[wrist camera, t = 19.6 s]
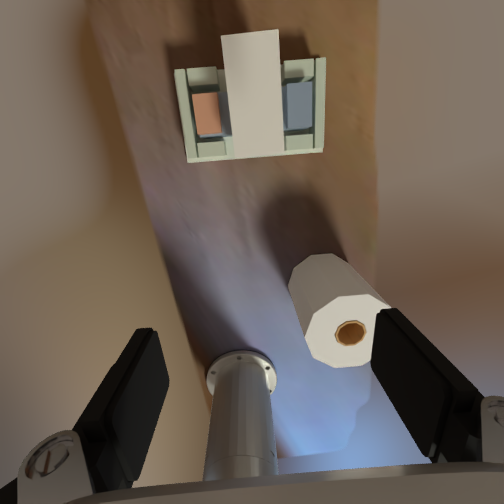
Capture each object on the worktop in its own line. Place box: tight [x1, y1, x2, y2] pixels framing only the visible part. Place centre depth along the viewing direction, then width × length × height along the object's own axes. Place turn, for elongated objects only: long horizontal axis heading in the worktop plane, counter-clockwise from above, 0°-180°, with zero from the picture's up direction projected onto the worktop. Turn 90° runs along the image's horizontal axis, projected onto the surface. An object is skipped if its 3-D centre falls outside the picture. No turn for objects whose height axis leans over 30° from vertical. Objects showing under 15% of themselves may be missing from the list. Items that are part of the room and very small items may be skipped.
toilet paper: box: [288, 253, 391, 368], centre depth 34 cm, size 10×10×12 cm
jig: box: [174, 58, 326, 163], centre depth 29 cm, size 10×17×4 cm, turn 94°
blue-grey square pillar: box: [192, 82, 312, 139], centre depth 28 cm, size 4×12×5 cm, turn 95°
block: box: [221, 29, 285, 159], centre depth 24 cm, size 9×4×6 cm, turn 6°
